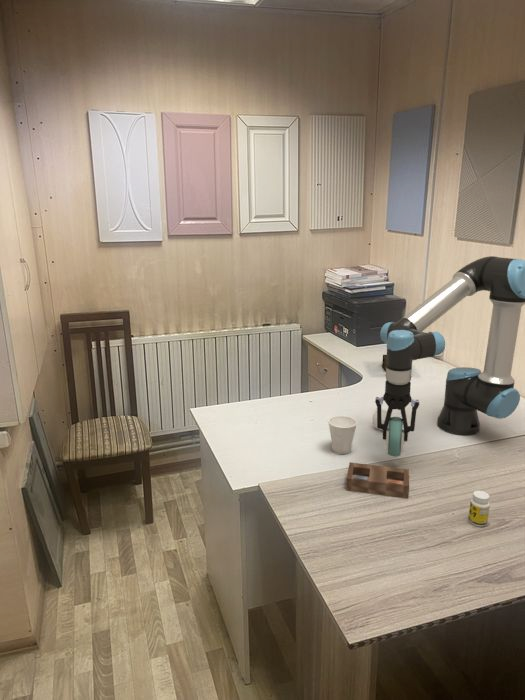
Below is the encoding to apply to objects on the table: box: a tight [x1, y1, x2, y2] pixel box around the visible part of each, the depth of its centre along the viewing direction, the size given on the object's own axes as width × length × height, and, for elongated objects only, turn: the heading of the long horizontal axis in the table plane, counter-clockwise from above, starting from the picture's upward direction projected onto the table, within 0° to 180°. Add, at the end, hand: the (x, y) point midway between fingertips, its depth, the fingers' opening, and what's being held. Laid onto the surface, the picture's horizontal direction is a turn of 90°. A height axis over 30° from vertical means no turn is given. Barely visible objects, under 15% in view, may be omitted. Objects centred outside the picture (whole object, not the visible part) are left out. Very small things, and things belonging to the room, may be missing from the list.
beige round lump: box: [371, 409, 392, 431], centre depth 194 cm, size 8×8×8 cm
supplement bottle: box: [468, 490, 491, 527], centre depth 138 cm, size 5×5×8 cm
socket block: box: [345, 461, 410, 499], centre depth 156 cm, size 18×10×4 cm, turn 76°
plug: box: [387, 416, 403, 458], centre depth 164 cm, size 4×4×12 cm
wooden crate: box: [381, 354, 387, 373], centre depth 262 cm, size 7×7×7 cm
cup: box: [327, 415, 358, 455], centre depth 177 cm, size 10×10×11 cm
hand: (394, 448), depth 166 cm, fingers closed on plug, 4 cm apart
